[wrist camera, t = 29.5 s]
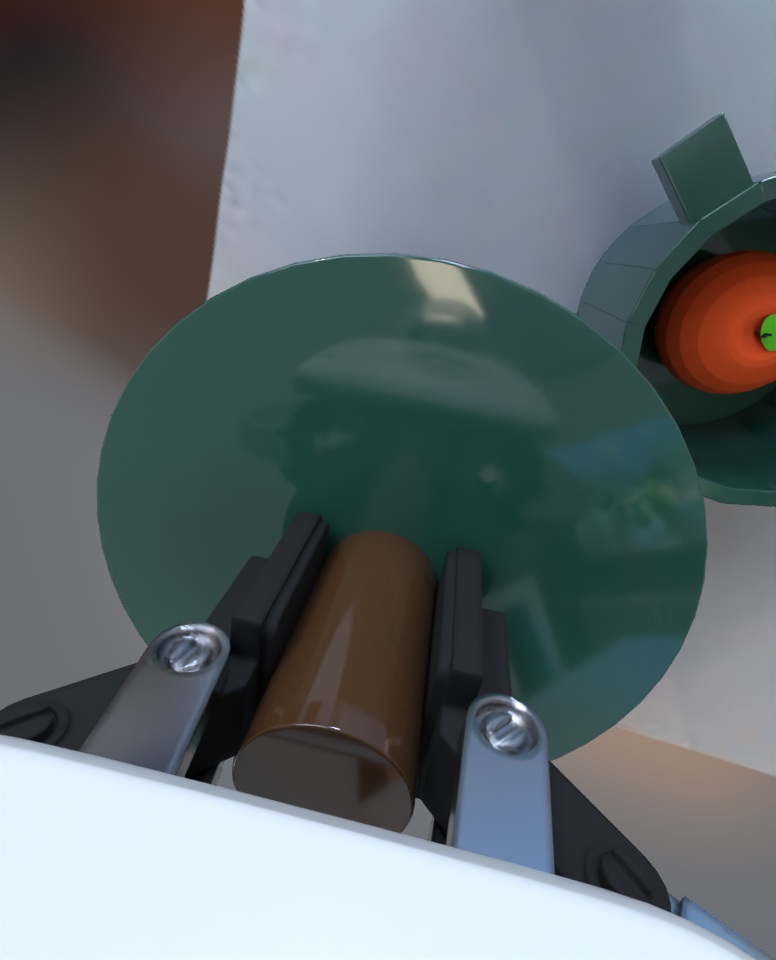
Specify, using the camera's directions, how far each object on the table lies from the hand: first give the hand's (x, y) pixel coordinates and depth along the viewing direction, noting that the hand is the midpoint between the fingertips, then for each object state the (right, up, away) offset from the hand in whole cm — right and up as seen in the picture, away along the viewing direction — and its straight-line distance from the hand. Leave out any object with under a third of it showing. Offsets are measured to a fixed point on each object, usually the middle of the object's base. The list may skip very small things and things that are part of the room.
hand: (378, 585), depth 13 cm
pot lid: (0, 0, +1) cm, 1 cm away
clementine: (+18, +12, +17) cm, 28 cm away
